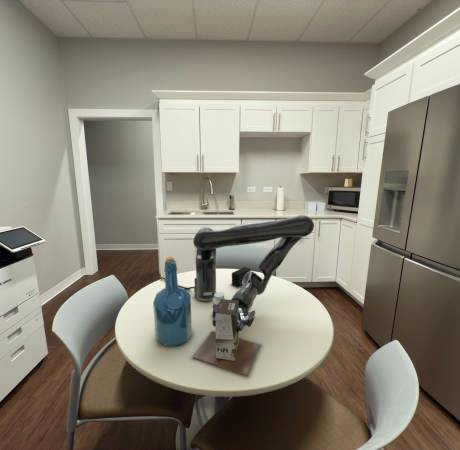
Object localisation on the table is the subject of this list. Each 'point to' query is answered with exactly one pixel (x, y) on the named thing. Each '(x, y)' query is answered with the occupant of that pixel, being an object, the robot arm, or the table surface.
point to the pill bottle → (217, 298)
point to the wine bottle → (172, 309)
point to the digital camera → (239, 276)
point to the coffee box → (227, 329)
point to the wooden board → (240, 365)
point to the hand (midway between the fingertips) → (225, 326)
